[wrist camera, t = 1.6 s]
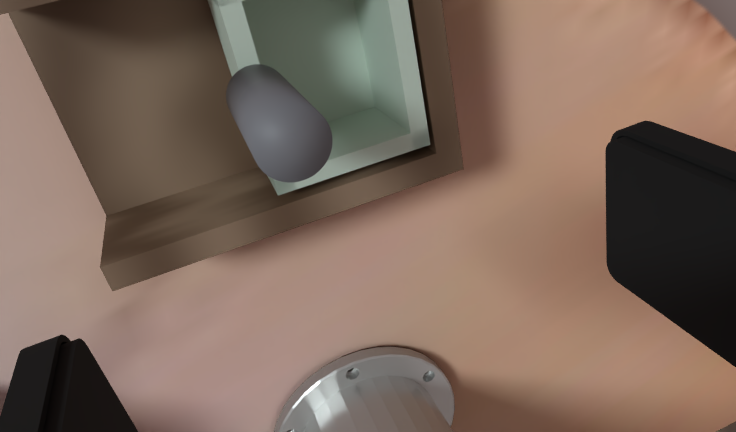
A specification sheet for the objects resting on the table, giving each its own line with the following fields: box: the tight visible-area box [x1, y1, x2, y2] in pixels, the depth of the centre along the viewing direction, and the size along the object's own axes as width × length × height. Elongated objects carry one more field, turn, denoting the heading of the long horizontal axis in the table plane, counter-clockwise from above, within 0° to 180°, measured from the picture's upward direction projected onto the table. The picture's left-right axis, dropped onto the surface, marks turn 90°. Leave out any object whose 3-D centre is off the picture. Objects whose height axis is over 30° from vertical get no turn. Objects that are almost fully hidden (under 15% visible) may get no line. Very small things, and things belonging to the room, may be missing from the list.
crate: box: [208, 0, 430, 195], centre depth 22 cm, size 8×8×11 cm
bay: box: [0, 0, 463, 291], centre depth 25 cm, size 16×12×6 cm
